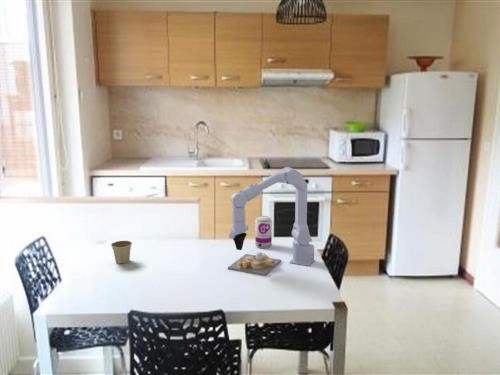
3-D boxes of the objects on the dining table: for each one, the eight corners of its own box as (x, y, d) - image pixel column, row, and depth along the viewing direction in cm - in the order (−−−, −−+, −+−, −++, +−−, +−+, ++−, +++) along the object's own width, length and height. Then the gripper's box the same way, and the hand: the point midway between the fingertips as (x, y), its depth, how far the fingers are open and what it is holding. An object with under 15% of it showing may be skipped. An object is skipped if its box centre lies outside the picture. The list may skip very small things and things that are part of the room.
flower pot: (136, 258, 205) (135, 240, 203) (128, 265, 196) (127, 247, 194) (117, 257, 206) (115, 240, 204) (108, 264, 196) (107, 246, 195)
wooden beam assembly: (264, 258, 200) (264, 253, 199) (274, 265, 191) (274, 260, 190) (234, 263, 194) (234, 258, 193) (242, 271, 185) (242, 266, 184)
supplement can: (271, 249, 215) (271, 220, 212) (255, 249, 215) (255, 220, 212) (271, 243, 223) (271, 215, 220) (255, 243, 223) (255, 215, 220)
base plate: (281, 261, 198) (281, 249, 197) (265, 276, 182) (265, 262, 181) (245, 255, 206) (245, 243, 205) (227, 269, 190) (227, 256, 189)
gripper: (238, 214, 197) (238, 243, 199) (222, 223, 184) (223, 253, 187) (252, 216, 193) (252, 245, 196) (237, 225, 181) (237, 255, 184)
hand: (239, 249), depth 191 cm, fingers closed
